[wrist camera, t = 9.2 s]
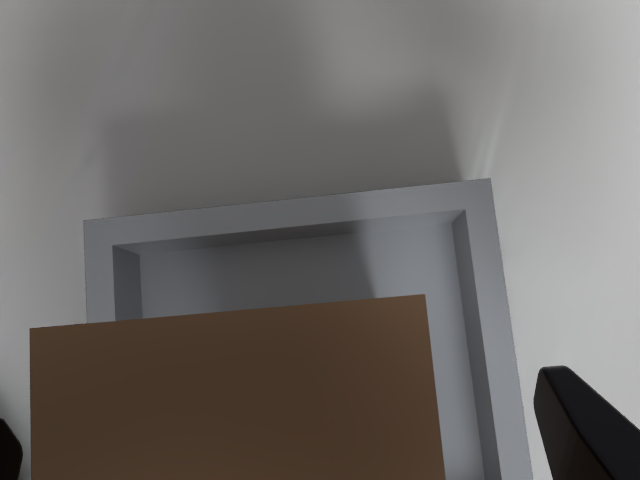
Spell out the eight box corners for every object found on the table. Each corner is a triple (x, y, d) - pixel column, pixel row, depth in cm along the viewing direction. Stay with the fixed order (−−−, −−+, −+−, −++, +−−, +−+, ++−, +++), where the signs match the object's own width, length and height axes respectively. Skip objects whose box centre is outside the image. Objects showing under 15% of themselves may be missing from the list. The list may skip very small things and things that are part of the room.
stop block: (396, 481, 17) (475, 745, 6) (229, 494, 18) (34, 771, 7) (379, 313, 18) (425, 294, 7) (219, 327, 18) (30, 328, 7)
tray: (519, 577, 18) (554, 627, 15) (140, 607, 18) (98, 663, 15) (468, 200, 19) (490, 178, 16) (123, 236, 20) (83, 220, 17)
